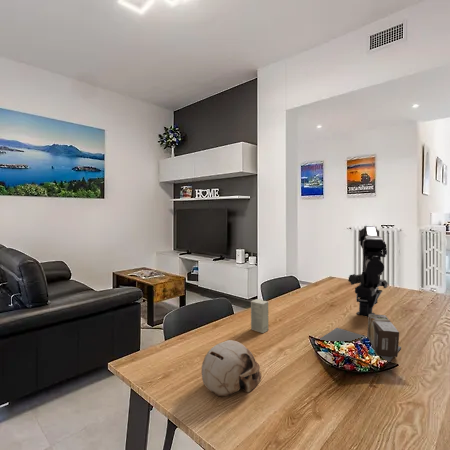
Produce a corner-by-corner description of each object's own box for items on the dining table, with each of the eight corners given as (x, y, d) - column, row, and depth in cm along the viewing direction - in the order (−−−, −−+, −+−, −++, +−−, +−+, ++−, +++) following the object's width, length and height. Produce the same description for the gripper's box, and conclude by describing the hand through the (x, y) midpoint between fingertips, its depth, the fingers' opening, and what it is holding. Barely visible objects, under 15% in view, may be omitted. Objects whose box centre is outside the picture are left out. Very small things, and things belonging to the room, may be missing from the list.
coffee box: (367, 313, 117) (378, 329, 101) (385, 315, 115) (399, 331, 100) (366, 336, 117) (377, 355, 102) (384, 338, 116) (398, 358, 100)
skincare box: (268, 330, 123) (269, 301, 122) (262, 333, 120) (263, 304, 119) (256, 326, 127) (256, 298, 126) (250, 329, 124) (250, 300, 123)
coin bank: (262, 370, 93) (260, 330, 91) (257, 413, 76) (255, 365, 74) (213, 366, 96) (211, 327, 94) (198, 406, 79) (194, 360, 77)
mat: (337, 328, 125) (337, 327, 125) (401, 348, 108) (401, 346, 108) (313, 344, 111) (313, 342, 111) (382, 369, 94) (382, 367, 94)
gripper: (360, 263, 130) (359, 298, 131) (342, 269, 117) (340, 308, 118) (388, 267, 122) (387, 304, 123) (372, 274, 109) (370, 316, 110)
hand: (370, 307), depth 119 cm, fingers closed
